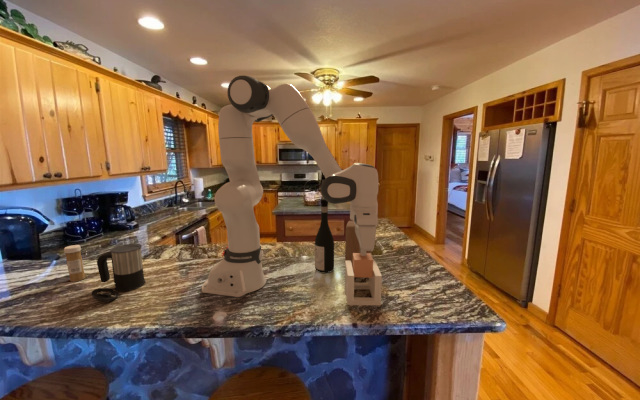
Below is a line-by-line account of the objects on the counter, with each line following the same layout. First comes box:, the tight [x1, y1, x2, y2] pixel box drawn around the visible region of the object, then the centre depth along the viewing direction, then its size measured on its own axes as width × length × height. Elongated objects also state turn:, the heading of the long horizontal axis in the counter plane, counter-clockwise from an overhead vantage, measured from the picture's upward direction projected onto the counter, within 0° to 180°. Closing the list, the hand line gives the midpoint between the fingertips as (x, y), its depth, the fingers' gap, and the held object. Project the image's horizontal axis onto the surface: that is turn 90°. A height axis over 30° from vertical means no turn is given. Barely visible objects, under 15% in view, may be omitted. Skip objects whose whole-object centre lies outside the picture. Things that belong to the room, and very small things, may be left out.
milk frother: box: [90, 243, 146, 303], centre depth 91 cm, size 14×16×15 cm
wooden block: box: [344, 220, 372, 266], centre depth 107 cm, size 10×10×20 cm
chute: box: [344, 260, 383, 306], centre depth 88 cm, size 11×12×10 cm
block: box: [352, 253, 374, 278], centre depth 87 cm, size 6×6×6 cm
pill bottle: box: [63, 244, 86, 283], centre depth 100 cm, size 5×5×13 cm
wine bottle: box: [314, 198, 335, 274], centre depth 106 cm, size 8×8×30 cm
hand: (362, 254), depth 86 cm, fingers closed
